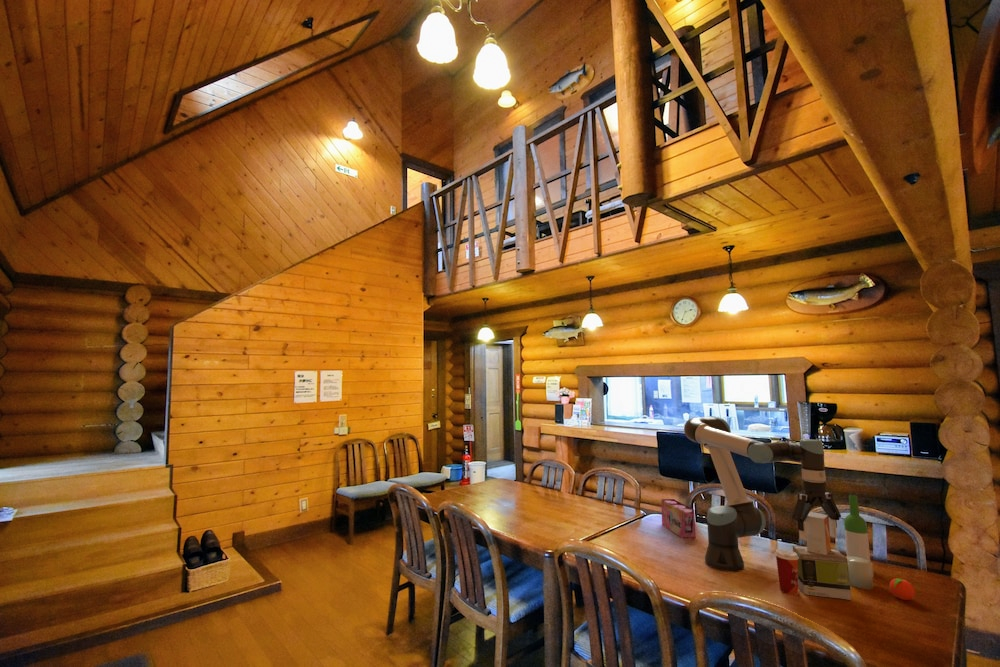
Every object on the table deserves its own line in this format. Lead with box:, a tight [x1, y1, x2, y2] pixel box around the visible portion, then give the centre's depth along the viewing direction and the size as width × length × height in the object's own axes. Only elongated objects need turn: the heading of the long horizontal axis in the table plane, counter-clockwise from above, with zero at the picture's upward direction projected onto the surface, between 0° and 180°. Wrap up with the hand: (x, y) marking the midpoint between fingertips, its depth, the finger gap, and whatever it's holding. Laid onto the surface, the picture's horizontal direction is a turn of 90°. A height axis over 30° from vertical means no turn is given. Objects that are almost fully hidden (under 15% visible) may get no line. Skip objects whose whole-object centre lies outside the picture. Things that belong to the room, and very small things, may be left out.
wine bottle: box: [843, 494, 871, 562], centre depth 190 cm, size 8×8×30 cm
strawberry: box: [889, 577, 916, 601], centre depth 162 cm, size 8×7×7 cm
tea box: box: [792, 545, 853, 601], centre depth 168 cm, size 15×10×15 cm, turn 72°
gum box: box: [660, 498, 697, 538], centre depth 238 cm, size 24×8×14 cm, turn 5°
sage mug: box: [845, 555, 874, 590], centre depth 174 cm, size 10×8×9 cm
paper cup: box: [774, 549, 799, 596], centre depth 168 cm, size 8×8×14 cm
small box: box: [804, 511, 832, 555], centre depth 170 cm, size 8×6×13 cm
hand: (818, 538), depth 169 cm, fingers open, 13 cm apart
